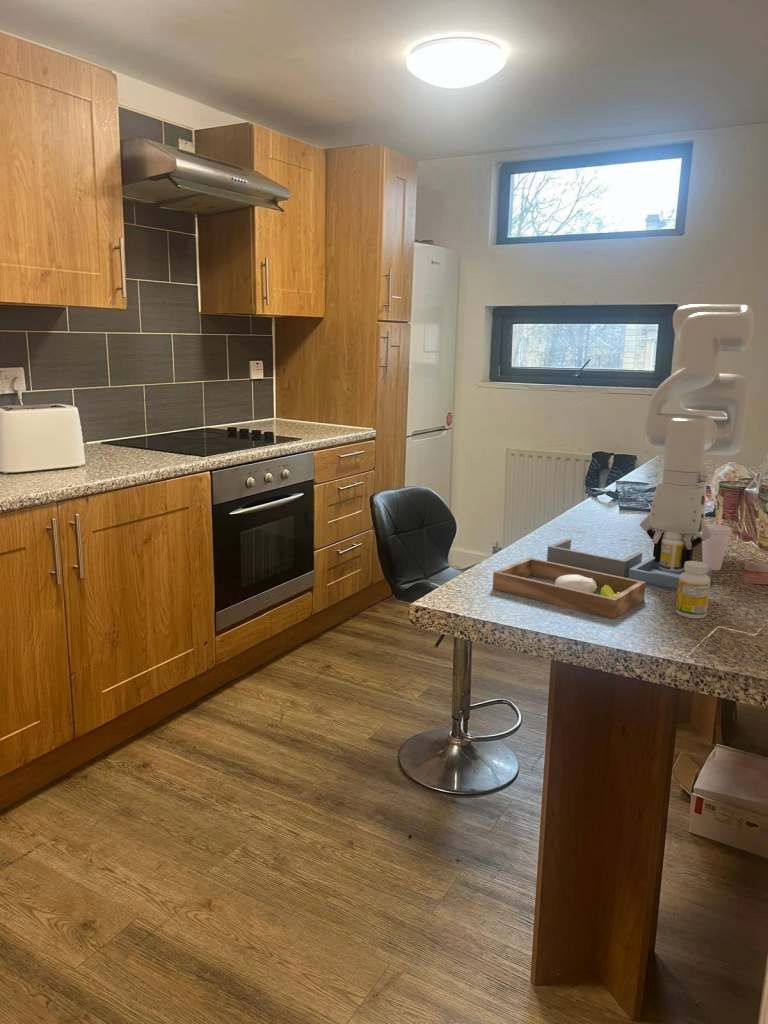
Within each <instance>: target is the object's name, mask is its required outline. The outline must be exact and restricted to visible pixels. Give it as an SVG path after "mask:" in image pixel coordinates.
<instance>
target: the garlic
mask: <svg viewBox="0 0 768 1024" xmlns="http://www.w3.org/2000/svg"><path fill="white" fill-rule="evenodd" d="M554 585H558V586H563V587H567V588H572V589H576V590H580V591H585V592H589V593H593V594H594V593H595V591H597V590H596V588H597V585H596V582H595V581H594V580H593V579H592V578H587V577H584V576H581V575H564V576H560V577H558V578H557V579H556V581H554Z"/></svg>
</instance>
